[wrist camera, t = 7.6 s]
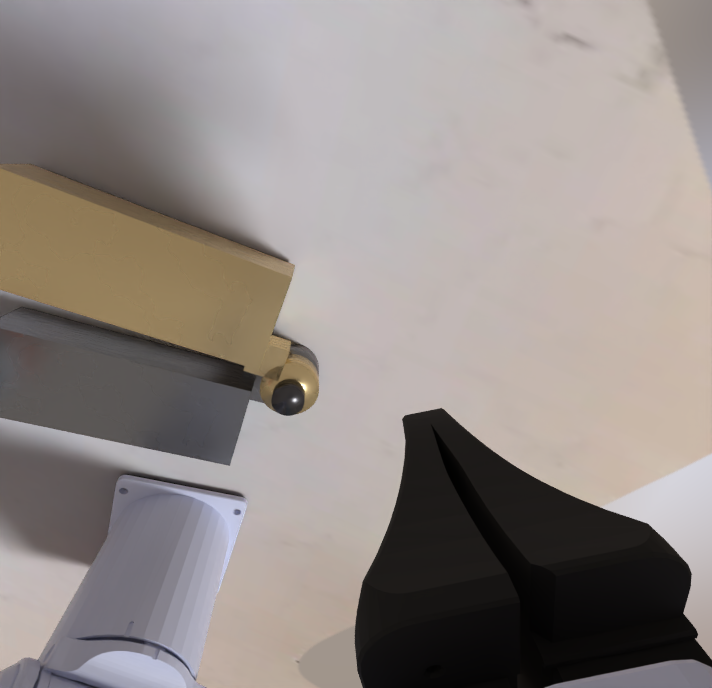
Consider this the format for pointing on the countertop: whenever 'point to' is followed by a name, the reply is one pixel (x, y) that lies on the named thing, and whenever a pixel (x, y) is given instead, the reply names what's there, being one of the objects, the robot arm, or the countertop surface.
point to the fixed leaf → (128, 387)
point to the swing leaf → (146, 274)
